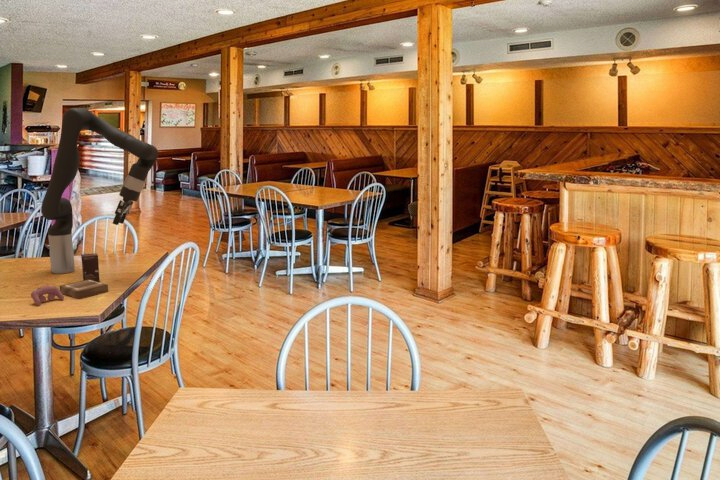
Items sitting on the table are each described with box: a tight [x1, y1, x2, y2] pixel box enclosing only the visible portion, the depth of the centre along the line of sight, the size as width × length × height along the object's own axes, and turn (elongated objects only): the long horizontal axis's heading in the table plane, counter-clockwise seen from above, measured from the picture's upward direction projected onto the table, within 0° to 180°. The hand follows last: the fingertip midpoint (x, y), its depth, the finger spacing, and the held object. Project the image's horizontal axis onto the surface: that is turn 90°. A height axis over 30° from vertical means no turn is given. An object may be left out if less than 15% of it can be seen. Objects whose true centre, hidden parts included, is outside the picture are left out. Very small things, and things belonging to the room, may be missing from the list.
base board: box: [59, 279, 109, 300], centre depth 211 cm, size 13×12×3 cm
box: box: [80, 252, 101, 282], centre depth 225 cm, size 6×4×12 cm
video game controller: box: [30, 285, 64, 307], centre depth 199 cm, size 10×5×7 cm, turn 145°
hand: (117, 223), depth 226 cm, fingers open, 8 cm apart
